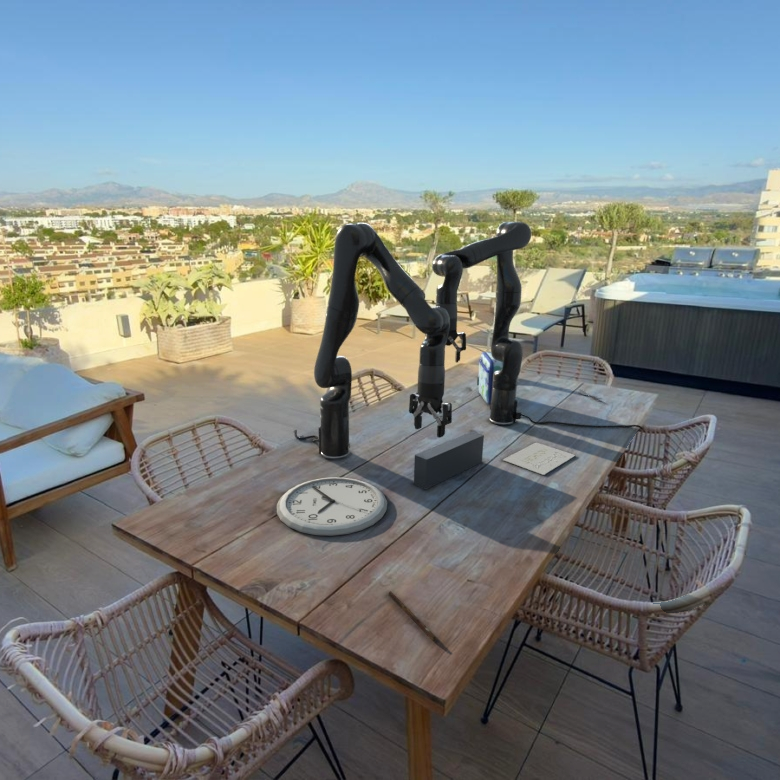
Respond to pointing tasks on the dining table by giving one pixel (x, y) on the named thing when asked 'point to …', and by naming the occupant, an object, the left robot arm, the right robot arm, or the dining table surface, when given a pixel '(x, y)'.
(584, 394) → the fork
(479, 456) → the bar
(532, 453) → the invitation card
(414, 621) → the dark brown stick
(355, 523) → the wall clock
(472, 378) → the dining table surface
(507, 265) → the right robot arm
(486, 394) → the lunch box
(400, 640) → the dining table surface
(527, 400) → the dining table surface
